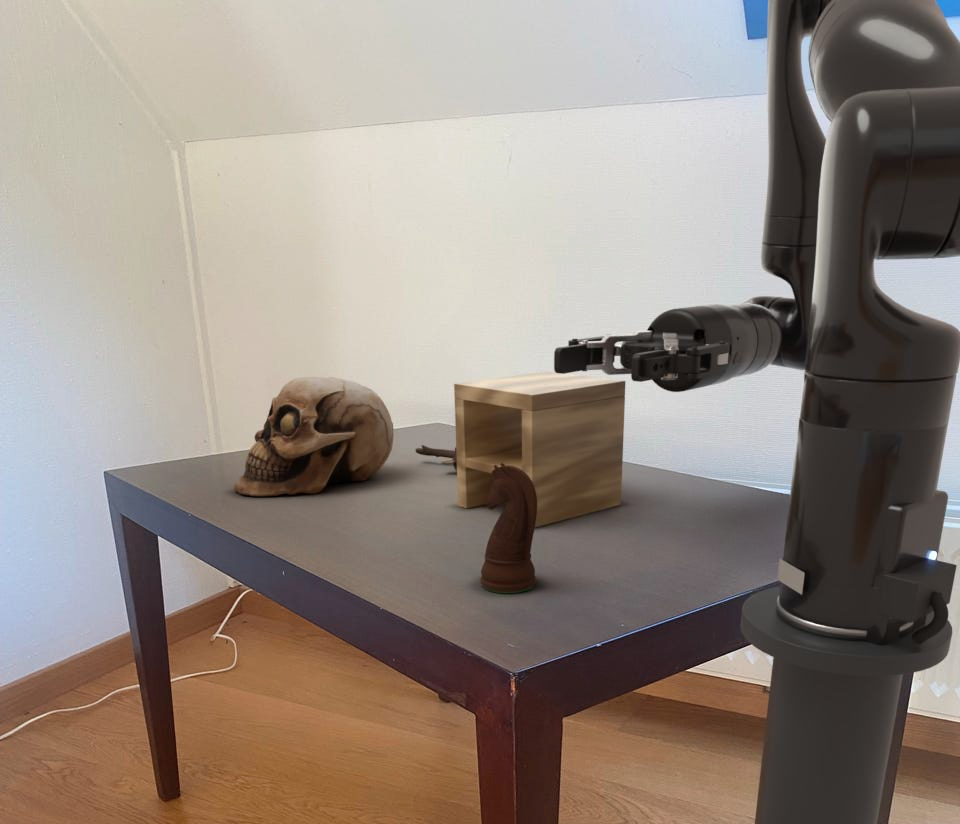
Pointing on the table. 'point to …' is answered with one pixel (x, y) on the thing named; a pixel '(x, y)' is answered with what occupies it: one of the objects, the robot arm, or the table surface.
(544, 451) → the stand
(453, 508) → the table surface
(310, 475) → the tan skull
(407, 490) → the table surface
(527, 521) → the chess piece
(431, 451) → the tree branch
